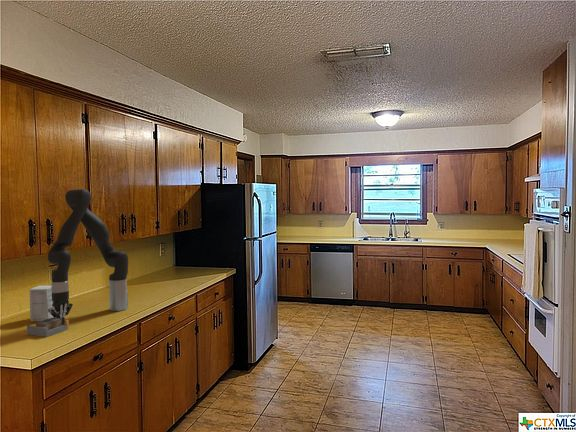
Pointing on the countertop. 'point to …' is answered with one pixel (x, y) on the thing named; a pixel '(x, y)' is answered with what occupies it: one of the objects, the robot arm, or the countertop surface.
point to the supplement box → (40, 303)
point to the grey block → (50, 323)
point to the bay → (46, 330)
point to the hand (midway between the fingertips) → (61, 325)
